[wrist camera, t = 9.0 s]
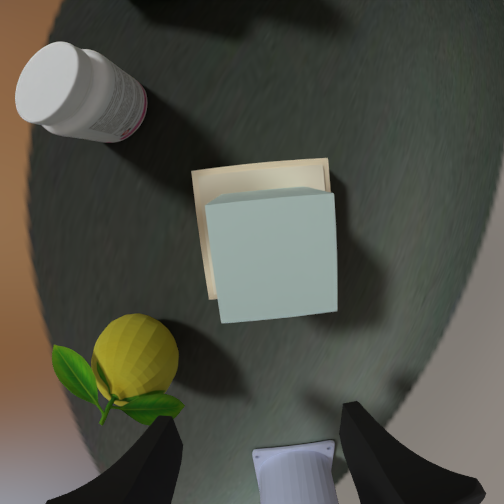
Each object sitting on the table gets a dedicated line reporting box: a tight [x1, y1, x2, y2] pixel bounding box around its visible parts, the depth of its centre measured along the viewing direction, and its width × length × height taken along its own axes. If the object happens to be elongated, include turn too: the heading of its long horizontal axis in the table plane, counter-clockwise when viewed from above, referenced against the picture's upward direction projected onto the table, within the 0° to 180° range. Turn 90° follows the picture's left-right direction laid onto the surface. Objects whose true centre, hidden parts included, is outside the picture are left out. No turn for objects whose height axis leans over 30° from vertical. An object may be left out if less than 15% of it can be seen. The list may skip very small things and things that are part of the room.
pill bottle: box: [15, 42, 147, 143], centre depth 13 cm, size 5×5×8 cm
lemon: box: [52, 313, 185, 425], centre depth 16 cm, size 7×6×10 cm
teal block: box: [205, 186, 337, 323], centre depth 14 cm, size 4×4×6 cm
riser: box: [191, 158, 331, 300], centre depth 18 cm, size 8×8×3 cm
